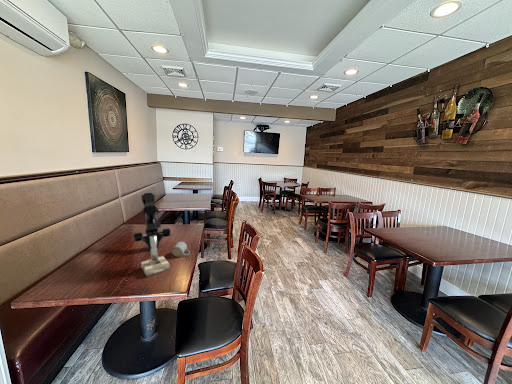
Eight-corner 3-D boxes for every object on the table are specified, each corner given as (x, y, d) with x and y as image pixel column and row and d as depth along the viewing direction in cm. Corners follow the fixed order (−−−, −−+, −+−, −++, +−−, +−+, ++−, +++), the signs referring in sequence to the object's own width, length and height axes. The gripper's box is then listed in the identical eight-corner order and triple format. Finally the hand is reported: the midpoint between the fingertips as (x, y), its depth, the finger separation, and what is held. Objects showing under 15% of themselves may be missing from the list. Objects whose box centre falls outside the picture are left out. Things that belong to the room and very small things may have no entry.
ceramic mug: (171, 257, 134) (170, 246, 133) (176, 251, 142) (175, 241, 141) (187, 257, 134) (187, 246, 133) (191, 252, 142) (191, 241, 141)
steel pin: (149, 259, 118) (147, 236, 116) (155, 257, 121) (153, 234, 119) (154, 261, 117) (152, 237, 114) (159, 258, 120) (158, 235, 118)
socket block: (141, 268, 121) (140, 261, 120) (163, 261, 128) (162, 255, 128) (146, 277, 112) (146, 270, 111) (169, 269, 119) (169, 263, 119)
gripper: (132, 219, 114) (133, 246, 106) (168, 215, 123) (172, 239, 115) (133, 228, 122) (135, 254, 115) (168, 224, 131) (171, 247, 123)
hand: (154, 248), depth 117 cm, fingers closed on steel pin, 4 cm apart
